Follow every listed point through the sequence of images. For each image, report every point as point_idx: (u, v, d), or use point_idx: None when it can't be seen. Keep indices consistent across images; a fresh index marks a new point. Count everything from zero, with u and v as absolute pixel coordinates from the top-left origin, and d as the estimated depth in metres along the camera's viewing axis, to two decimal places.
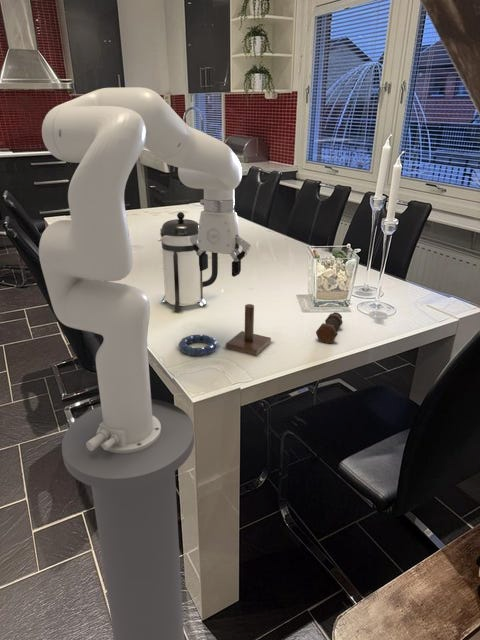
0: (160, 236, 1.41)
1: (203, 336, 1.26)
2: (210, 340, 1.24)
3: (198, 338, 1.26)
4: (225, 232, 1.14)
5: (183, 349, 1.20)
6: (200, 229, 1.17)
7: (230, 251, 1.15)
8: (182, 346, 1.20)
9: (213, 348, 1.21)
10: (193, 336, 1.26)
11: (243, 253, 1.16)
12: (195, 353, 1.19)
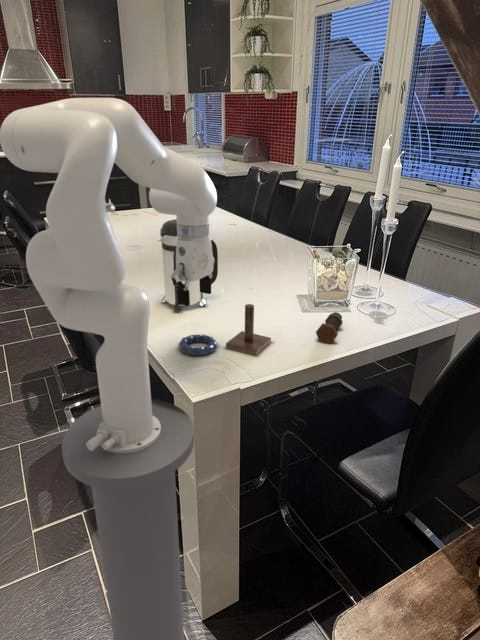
0: (160, 236, 1.41)
1: (203, 336, 1.26)
2: (210, 340, 1.24)
3: (198, 338, 1.26)
4: (210, 252, 1.14)
5: (183, 349, 1.20)
6: (193, 260, 1.08)
7: None
8: (182, 346, 1.20)
9: (213, 348, 1.21)
10: (193, 336, 1.26)
11: (212, 267, 1.20)
12: (195, 353, 1.19)
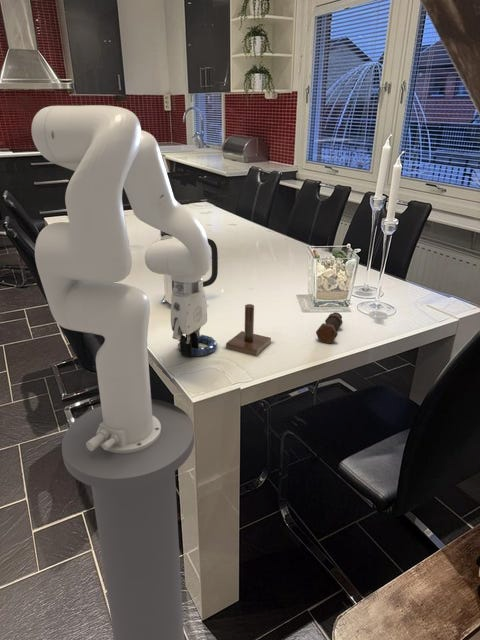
0: (160, 236, 1.41)
1: (203, 336, 1.26)
2: (210, 340, 1.24)
3: (198, 338, 1.26)
4: (204, 304, 1.17)
5: None
6: (187, 314, 1.11)
7: None
8: None
9: (213, 348, 1.21)
10: None
11: None
12: (195, 354, 1.19)
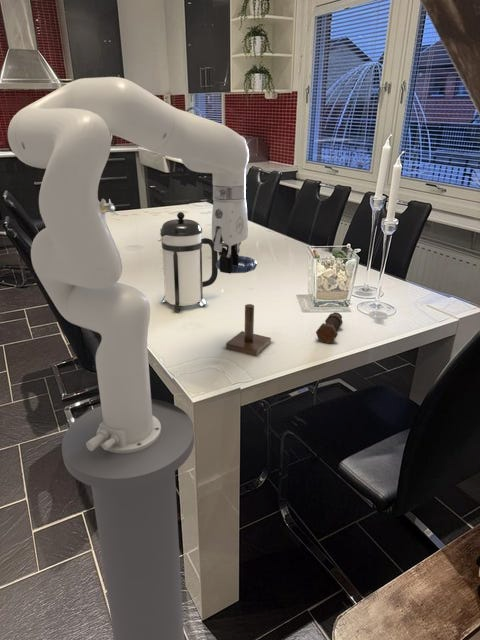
0: (160, 236, 1.41)
1: (241, 257, 1.19)
2: (249, 260, 1.17)
3: None
4: (245, 217, 1.10)
5: None
6: (230, 222, 1.04)
7: None
8: None
9: (253, 266, 1.13)
10: None
11: (240, 242, 1.14)
12: (235, 270, 1.12)
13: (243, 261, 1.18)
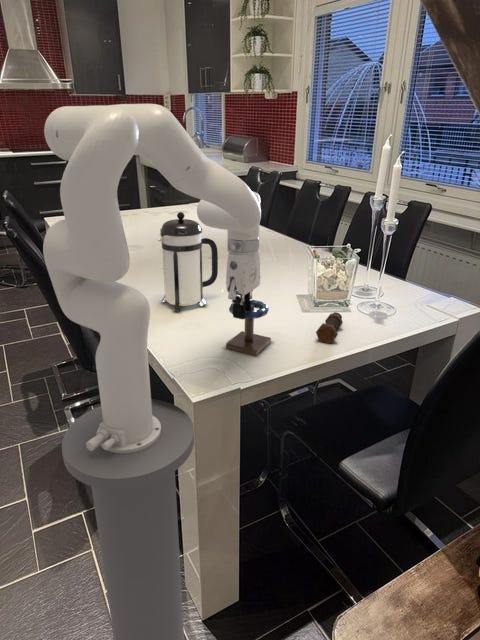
0: (160, 236, 1.41)
1: (253, 301, 1.24)
2: (261, 304, 1.22)
3: None
4: (258, 266, 1.15)
5: None
6: (244, 274, 1.09)
7: None
8: None
9: (265, 312, 1.18)
10: None
11: None
12: (248, 316, 1.17)
13: (255, 305, 1.23)
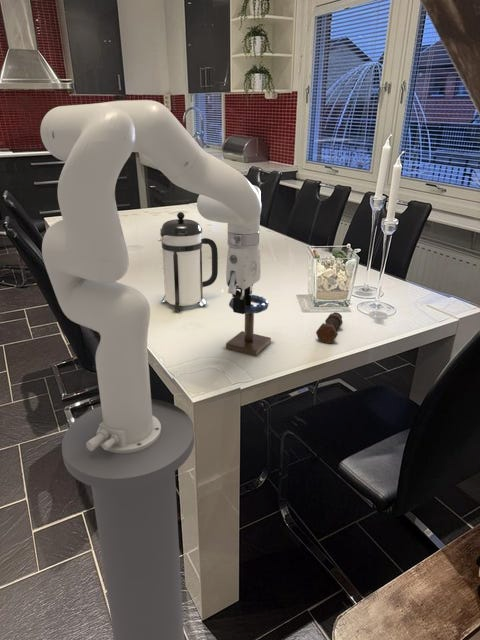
0: (160, 236, 1.41)
1: (253, 296, 1.23)
2: (261, 299, 1.21)
3: None
4: (258, 260, 1.14)
5: None
6: (244, 268, 1.08)
7: None
8: None
9: (265, 306, 1.18)
10: None
11: None
12: (248, 311, 1.16)
13: (255, 300, 1.23)
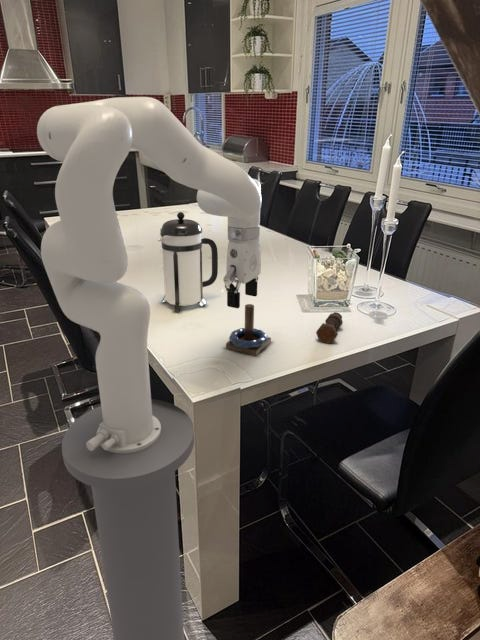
0: (160, 236, 1.41)
1: None
2: (260, 333, 1.25)
3: None
4: (259, 254, 1.14)
5: (235, 342, 1.21)
6: (245, 262, 1.08)
7: None
8: (234, 339, 1.21)
9: (264, 341, 1.22)
10: (242, 329, 1.27)
11: None
12: (247, 346, 1.20)
13: (254, 333, 1.26)
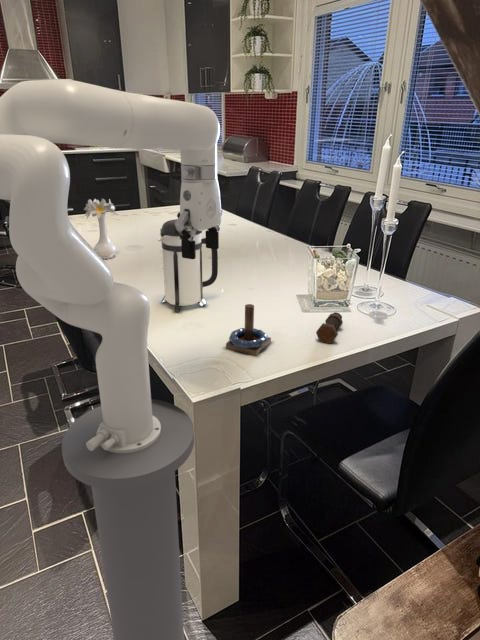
0: (160, 236, 1.41)
1: None
2: (260, 333, 1.25)
3: None
4: (218, 200, 1.01)
5: (235, 342, 1.21)
6: (200, 205, 0.96)
7: None
8: (234, 339, 1.21)
9: (264, 341, 1.22)
10: (242, 329, 1.27)
11: None
12: (247, 346, 1.20)
13: (254, 333, 1.26)
